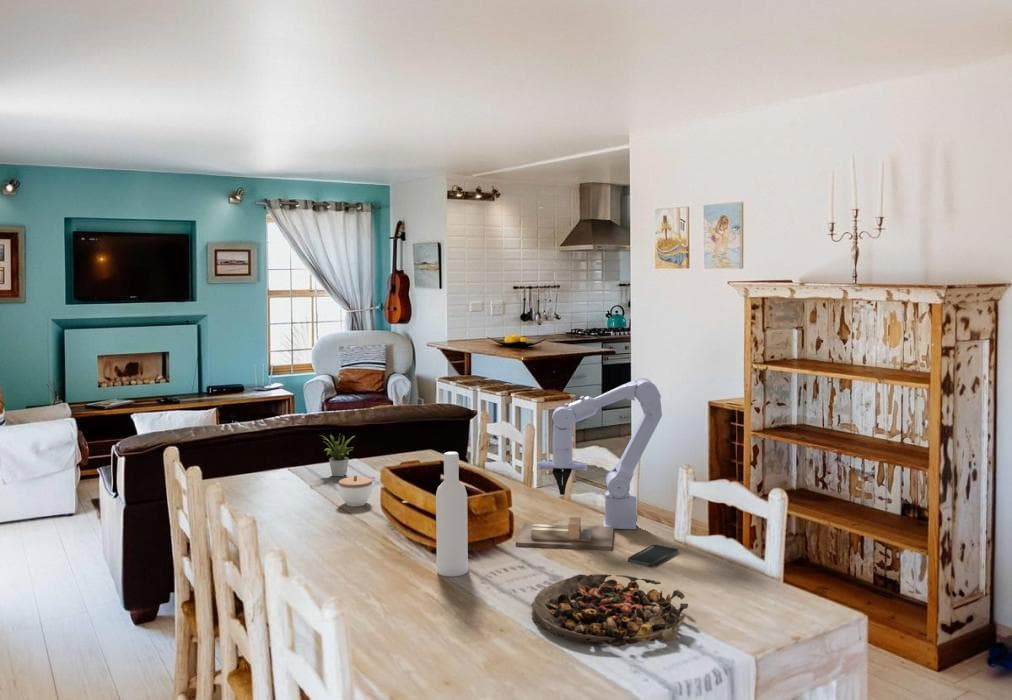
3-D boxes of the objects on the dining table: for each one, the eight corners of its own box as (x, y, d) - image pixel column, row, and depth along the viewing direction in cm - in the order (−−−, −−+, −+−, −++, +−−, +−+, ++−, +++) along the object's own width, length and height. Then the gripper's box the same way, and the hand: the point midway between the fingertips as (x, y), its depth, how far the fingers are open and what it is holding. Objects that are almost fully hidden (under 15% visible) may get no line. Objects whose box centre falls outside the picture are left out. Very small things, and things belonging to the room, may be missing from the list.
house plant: (309, 479, 312) (308, 434, 310) (324, 470, 325) (323, 428, 324) (347, 480, 309) (346, 435, 308) (360, 472, 323) (359, 429, 321)
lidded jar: (379, 502, 280) (379, 474, 279) (357, 510, 271) (356, 481, 270) (354, 498, 285) (354, 470, 284) (332, 505, 276) (331, 476, 275)
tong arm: (579, 534, 240) (579, 526, 240) (578, 537, 238) (578, 528, 238) (533, 532, 243) (533, 523, 242) (532, 534, 241) (532, 525, 241)
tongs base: (613, 530, 248) (613, 518, 248) (611, 550, 230) (611, 536, 230) (523, 526, 252) (523, 514, 252) (515, 546, 234) (515, 533, 234)
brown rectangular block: (580, 533, 241) (580, 517, 240) (579, 540, 234) (579, 524, 234) (570, 533, 241) (570, 517, 241) (568, 540, 235) (568, 523, 234)
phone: (626, 558, 221) (653, 543, 233) (626, 562, 221) (653, 548, 233) (653, 564, 217) (680, 549, 228) (653, 569, 217) (680, 553, 228)
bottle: (429, 571, 214) (428, 453, 212) (452, 563, 220) (451, 448, 217) (451, 579, 209) (450, 457, 206) (474, 571, 215) (473, 452, 212)
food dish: (720, 630, 182) (722, 595, 181) (603, 675, 163) (603, 636, 162) (609, 577, 210) (609, 547, 209) (497, 611, 191) (497, 577, 190)
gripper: (587, 446, 254) (587, 491, 255) (539, 445, 256) (539, 489, 257) (586, 451, 247) (586, 497, 248) (536, 449, 249) (536, 495, 251)
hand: (562, 494), depth 252 cm, fingers closed
